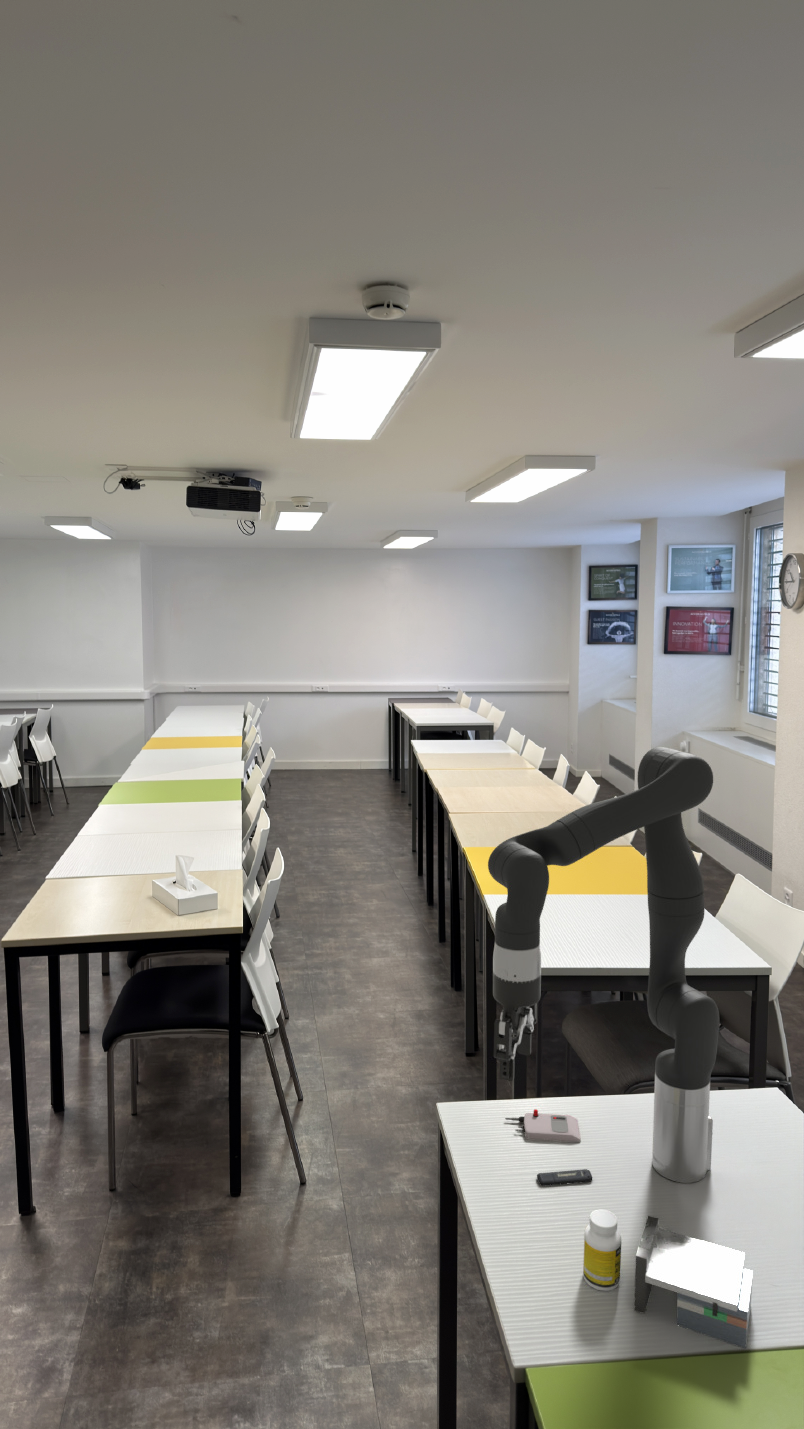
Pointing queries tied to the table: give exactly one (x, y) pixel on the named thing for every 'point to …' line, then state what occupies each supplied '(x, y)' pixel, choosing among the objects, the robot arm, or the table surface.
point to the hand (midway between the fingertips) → (515, 1065)
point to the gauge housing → (718, 1315)
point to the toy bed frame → (686, 1268)
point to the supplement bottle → (602, 1251)
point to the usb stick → (564, 1177)
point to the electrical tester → (549, 1127)
